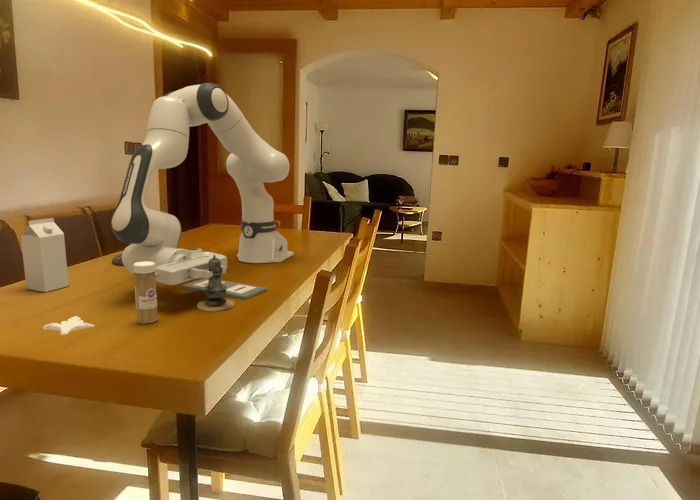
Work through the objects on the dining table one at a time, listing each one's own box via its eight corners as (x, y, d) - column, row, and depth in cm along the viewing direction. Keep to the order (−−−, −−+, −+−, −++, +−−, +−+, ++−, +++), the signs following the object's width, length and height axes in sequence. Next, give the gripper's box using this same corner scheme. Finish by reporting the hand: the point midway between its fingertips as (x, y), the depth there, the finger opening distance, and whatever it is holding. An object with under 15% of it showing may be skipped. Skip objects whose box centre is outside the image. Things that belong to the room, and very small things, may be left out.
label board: (206, 280, 144) (206, 276, 144) (267, 290, 135) (267, 286, 135) (181, 288, 135) (181, 284, 135) (245, 299, 126) (245, 295, 126)
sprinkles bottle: (147, 325, 106) (144, 266, 103) (131, 322, 107) (128, 263, 105) (162, 319, 110) (159, 262, 107) (147, 316, 112) (144, 259, 109)
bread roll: (127, 269, 157) (126, 254, 156) (106, 263, 163) (105, 249, 162) (162, 262, 167) (161, 248, 166) (141, 257, 174) (140, 244, 173)
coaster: (214, 298, 126) (213, 296, 126) (241, 303, 123) (241, 301, 122) (189, 308, 118) (189, 305, 118) (218, 313, 115) (218, 311, 114)
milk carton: (26, 289, 130) (18, 220, 126) (50, 283, 137) (44, 217, 133) (45, 292, 128) (38, 222, 124) (68, 286, 134) (62, 218, 130)
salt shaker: (220, 306, 117) (219, 257, 114) (198, 303, 118) (197, 256, 116) (231, 299, 122) (230, 253, 120) (210, 297, 124) (209, 251, 121)
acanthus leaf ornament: (43, 332, 102) (42, 323, 102) (74, 322, 108) (73, 314, 108) (64, 338, 99) (63, 330, 98) (95, 328, 105) (94, 320, 104)
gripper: (142, 261, 114) (186, 268, 109) (202, 247, 132) (242, 252, 127) (143, 286, 115) (187, 295, 110) (202, 269, 134) (243, 276, 128)
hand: (217, 272), depth 118 cm, fingers closed on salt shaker, 3 cm apart
